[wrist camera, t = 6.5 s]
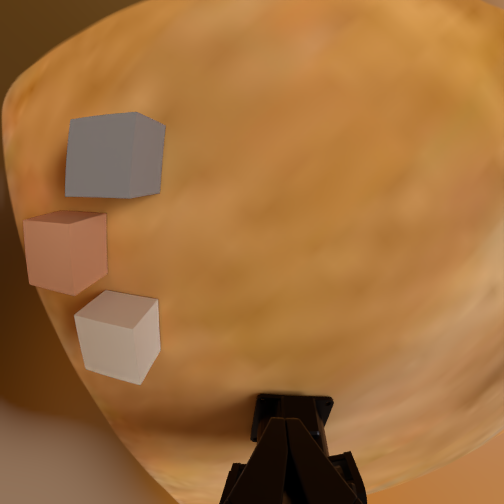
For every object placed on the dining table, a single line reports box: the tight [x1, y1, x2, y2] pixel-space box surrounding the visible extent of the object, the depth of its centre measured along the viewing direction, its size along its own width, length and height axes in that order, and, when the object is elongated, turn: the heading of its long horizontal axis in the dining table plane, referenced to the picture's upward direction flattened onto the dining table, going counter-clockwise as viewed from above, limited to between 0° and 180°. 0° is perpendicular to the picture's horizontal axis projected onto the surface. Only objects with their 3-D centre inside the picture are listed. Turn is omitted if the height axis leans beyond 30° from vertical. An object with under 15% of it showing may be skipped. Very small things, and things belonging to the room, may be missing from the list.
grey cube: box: [65, 112, 166, 199], centre depth 15 cm, size 4×4×4 cm
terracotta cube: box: [23, 211, 108, 296], centre depth 17 cm, size 4×4×4 cm
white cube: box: [74, 290, 161, 385], centre depth 18 cm, size 4×4×4 cm
